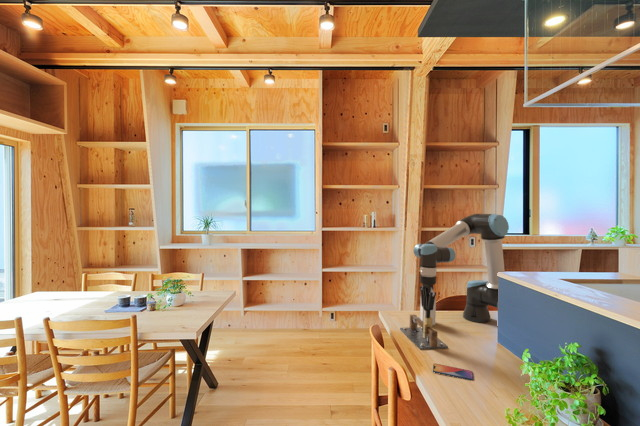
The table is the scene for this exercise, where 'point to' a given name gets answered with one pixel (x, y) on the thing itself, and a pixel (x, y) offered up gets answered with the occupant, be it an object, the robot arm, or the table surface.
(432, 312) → the milk carton
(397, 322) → the table surface
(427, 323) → the slider
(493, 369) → the table surface
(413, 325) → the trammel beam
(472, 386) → the table surface
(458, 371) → the smartphone
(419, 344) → the flange plate
